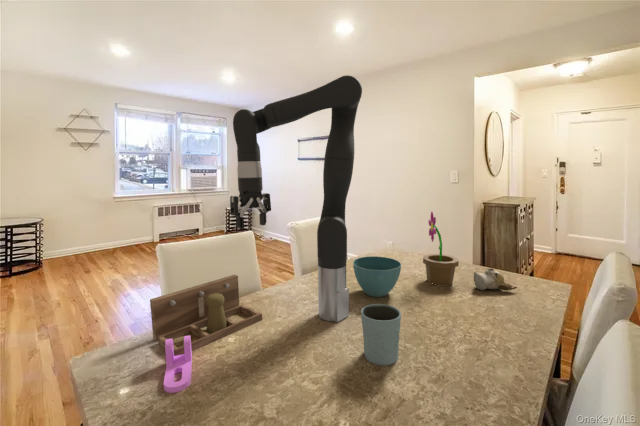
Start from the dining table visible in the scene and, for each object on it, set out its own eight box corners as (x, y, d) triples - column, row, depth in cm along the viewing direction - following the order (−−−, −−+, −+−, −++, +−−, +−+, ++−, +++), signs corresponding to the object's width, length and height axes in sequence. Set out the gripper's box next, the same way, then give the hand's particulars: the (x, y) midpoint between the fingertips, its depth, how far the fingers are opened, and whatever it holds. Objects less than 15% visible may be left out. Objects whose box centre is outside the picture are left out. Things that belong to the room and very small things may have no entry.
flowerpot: (418, 275, 145) (421, 209, 141) (451, 276, 143) (455, 209, 139) (426, 287, 131) (428, 214, 127) (462, 288, 129) (466, 214, 125)
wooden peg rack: (262, 319, 104) (260, 284, 102) (176, 358, 83) (173, 314, 82) (236, 307, 114) (234, 274, 112) (153, 339, 93) (149, 299, 91)
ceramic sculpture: (467, 264, 132) (502, 265, 133) (465, 284, 133) (500, 285, 134) (482, 272, 122) (520, 273, 123) (479, 294, 123) (517, 295, 124)
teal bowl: (406, 290, 128) (407, 260, 126) (390, 306, 113) (391, 272, 111) (364, 282, 138) (365, 254, 136) (344, 296, 123) (344, 265, 121)
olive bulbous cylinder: (220, 335, 94) (218, 299, 93) (202, 333, 96) (200, 297, 94) (231, 326, 100) (229, 292, 99) (214, 323, 102) (212, 290, 100)
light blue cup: (392, 372, 77) (393, 324, 75) (353, 359, 82) (354, 314, 80) (405, 351, 85) (406, 308, 84) (369, 341, 90) (370, 300, 89)
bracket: (168, 362, 82) (166, 336, 81) (192, 357, 84) (190, 332, 83) (162, 395, 70) (160, 365, 69) (190, 389, 71) (188, 360, 71)
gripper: (237, 177, 94) (240, 231, 96) (274, 175, 104) (276, 224, 107) (223, 177, 99) (226, 229, 101) (260, 175, 109) (262, 222, 111)
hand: (252, 226), depth 104 cm, fingers open, 8 cm apart
